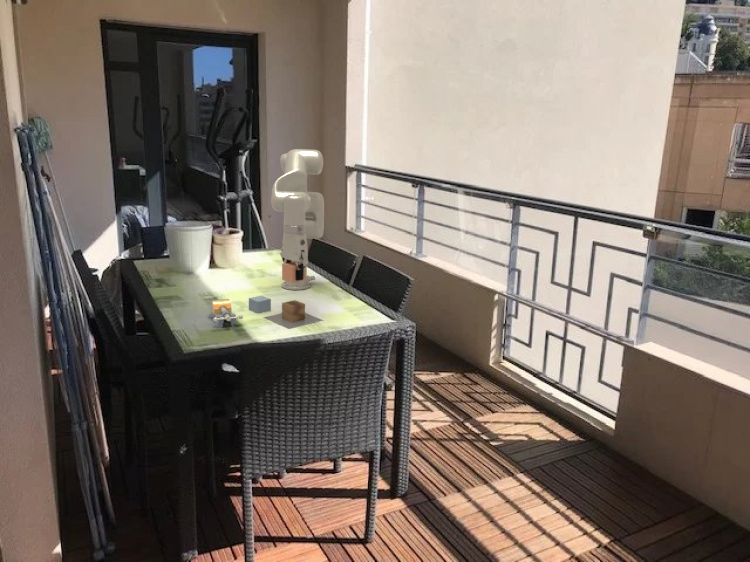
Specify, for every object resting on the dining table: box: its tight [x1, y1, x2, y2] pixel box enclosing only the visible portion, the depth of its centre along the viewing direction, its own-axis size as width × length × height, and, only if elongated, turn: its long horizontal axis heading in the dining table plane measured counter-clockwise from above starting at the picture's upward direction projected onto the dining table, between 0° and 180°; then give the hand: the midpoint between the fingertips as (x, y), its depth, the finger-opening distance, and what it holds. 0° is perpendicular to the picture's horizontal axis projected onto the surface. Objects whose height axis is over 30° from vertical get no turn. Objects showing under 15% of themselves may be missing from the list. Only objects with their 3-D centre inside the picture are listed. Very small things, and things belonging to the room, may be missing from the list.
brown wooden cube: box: [281, 299, 306, 322], centre depth 230 cm, size 6×6×6 cm
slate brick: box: [248, 295, 272, 314], centre depth 239 cm, size 6×6×6 cm
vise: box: [207, 298, 244, 329], centre depth 227 cm, size 18×10×7 cm, turn 23°
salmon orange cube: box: [281, 262, 305, 283], centre depth 226 cm, size 6×6×6 cm
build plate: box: [263, 312, 324, 330], centre depth 231 cm, size 16×16×1 cm
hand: (293, 277), depth 227 cm, fingers closed on salmon orange cube, 6 cm apart
